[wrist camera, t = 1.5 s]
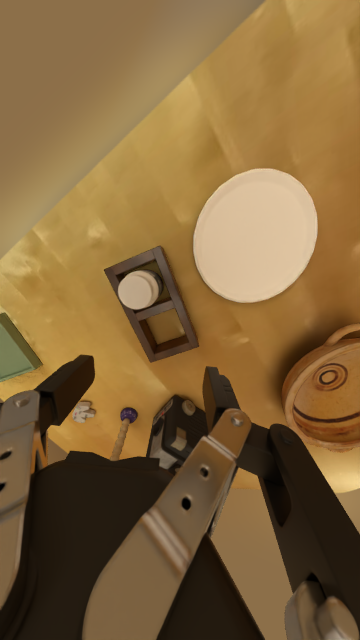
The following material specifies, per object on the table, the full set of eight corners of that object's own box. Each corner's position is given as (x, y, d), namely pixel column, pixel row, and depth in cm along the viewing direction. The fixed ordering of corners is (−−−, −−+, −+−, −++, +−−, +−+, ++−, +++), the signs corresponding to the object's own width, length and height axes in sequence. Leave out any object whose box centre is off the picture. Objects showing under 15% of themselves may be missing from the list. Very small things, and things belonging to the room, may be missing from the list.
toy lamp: (141, 409, 42) (115, 497, 26) (138, 423, 43) (111, 514, 28) (122, 406, 42) (84, 492, 26) (119, 419, 43) (82, 509, 27)
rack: (153, 352, 37) (150, 362, 33) (113, 269, 31) (103, 269, 28) (197, 338, 35) (199, 346, 32) (163, 247, 30) (159, 245, 26)
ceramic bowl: (369, 417, 41) (411, 452, 33) (267, 429, 43) (285, 465, 35) (391, 301, 32) (456, 312, 24) (262, 323, 34) (285, 340, 26)
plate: (226, 146, 25) (228, 140, 24) (340, 206, 27) (347, 203, 26) (175, 276, 32) (174, 277, 30) (271, 317, 34) (274, 319, 32)
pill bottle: (160, 303, 33) (150, 318, 24) (131, 295, 33) (111, 307, 23) (166, 274, 31) (159, 278, 22) (137, 265, 31) (116, 266, 22)
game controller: (97, 418, 43) (91, 427, 41) (52, 414, 43) (44, 423, 41) (95, 400, 41) (89, 409, 39) (49, 396, 41) (40, 405, 39)
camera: (175, 388, 40) (170, 457, 25) (220, 415, 42) (238, 493, 28) (150, 416, 43) (133, 492, 28) (193, 440, 45) (197, 522, 31)
